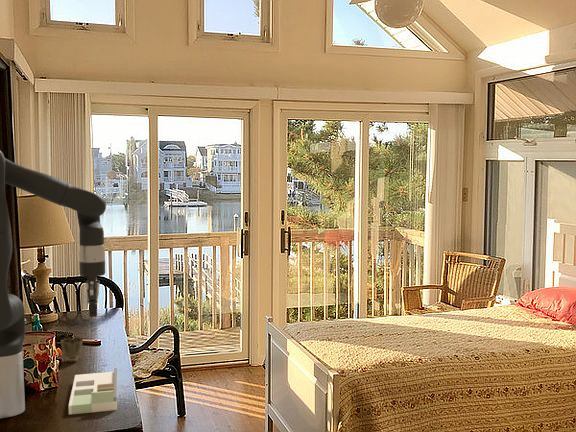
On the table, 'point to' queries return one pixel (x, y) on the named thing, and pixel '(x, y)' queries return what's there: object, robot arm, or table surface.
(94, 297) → the robot arm
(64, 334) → the table surface
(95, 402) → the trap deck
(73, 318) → the table surface
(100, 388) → the walnut block
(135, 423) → the table surface
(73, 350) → the cup
